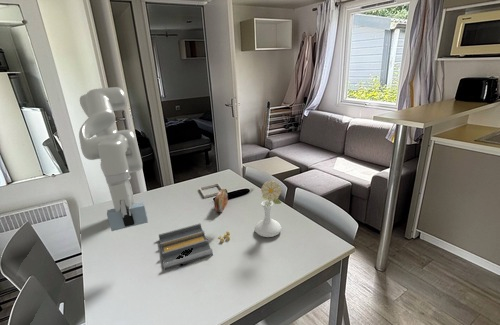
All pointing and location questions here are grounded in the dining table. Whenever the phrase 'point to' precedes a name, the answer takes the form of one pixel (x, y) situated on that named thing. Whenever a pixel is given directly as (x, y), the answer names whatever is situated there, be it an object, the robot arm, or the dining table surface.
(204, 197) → the beige square frame
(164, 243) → the rack
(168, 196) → the dining table surface
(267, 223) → the flower in vase
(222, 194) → the tin
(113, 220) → the blue-grey rectangular block
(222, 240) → the dice set
